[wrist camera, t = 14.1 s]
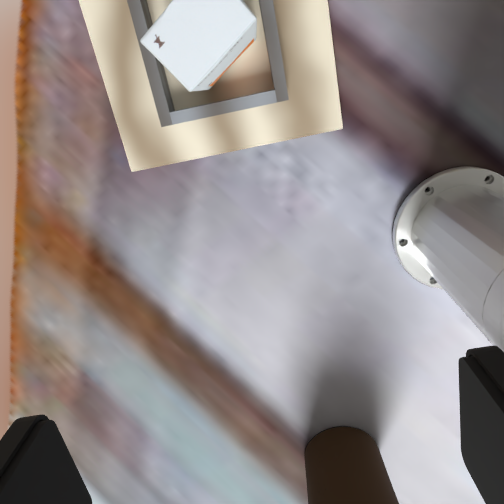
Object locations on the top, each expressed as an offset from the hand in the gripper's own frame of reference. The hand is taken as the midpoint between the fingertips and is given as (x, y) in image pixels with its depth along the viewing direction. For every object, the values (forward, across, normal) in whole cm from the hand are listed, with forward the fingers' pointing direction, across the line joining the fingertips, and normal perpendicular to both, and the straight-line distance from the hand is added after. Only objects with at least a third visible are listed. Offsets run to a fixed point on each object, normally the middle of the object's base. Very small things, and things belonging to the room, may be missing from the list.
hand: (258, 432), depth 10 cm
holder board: (+33, +2, -11) cm, 35 cm away
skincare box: (+32, +2, -11) cm, 34 cm away
